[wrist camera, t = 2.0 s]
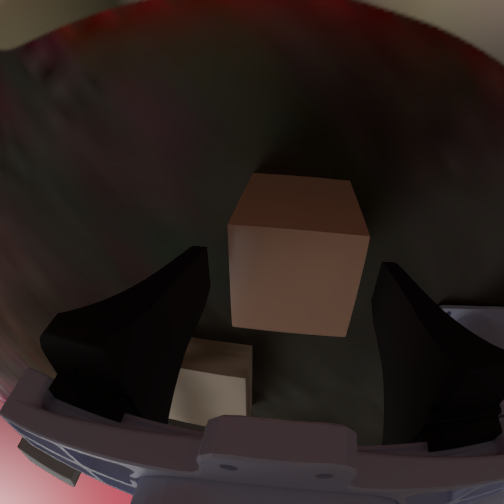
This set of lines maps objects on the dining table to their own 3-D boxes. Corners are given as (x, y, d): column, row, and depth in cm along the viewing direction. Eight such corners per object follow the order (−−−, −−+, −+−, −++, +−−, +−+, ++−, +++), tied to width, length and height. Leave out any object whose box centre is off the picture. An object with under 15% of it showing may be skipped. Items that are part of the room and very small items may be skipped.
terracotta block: (349, 180, 16) (370, 236, 11) (337, 261, 18) (345, 337, 13) (253, 172, 16) (227, 224, 11) (252, 254, 19) (232, 326, 14)
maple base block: (253, 341, 23) (245, 378, 20) (252, 402, 28) (246, 432, 25) (144, 325, 25) (127, 356, 22) (164, 386, 29) (153, 414, 26)
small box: (69, 355, 30) (15, 446, 19) (117, 383, 30) (71, 481, 19) (70, 384, 34) (29, 461, 23) (112, 407, 35) (75, 488, 24)
